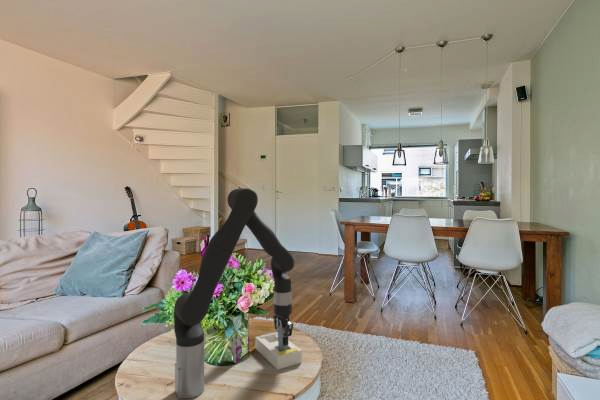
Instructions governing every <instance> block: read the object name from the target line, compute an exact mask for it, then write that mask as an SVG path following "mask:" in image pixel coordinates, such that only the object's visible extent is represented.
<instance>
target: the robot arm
mask: <svg viewBox="0 0 600 400" xmlns="http://www.w3.org/2000/svg"><path fill="white" fill-rule="evenodd" d="M226 200H227V204H228V207H229V208H230V209H231V210H230V213H229V215H228V217H227V218H226V220H225V222H224V223H223V224H222V225H221V226H220V227H219V228H218V230H216V232H215V233H214V235H213V236H212V237H211V239H210V241H209V242H208V244H207V246H206V248H205V250H204V252H203V254H202V256H201V260H200V261H201V262H200V266H199V272H198V276H197V280H196V282H195V285H194V286H193V289H191V292H187V293H186V292H185V293H183V294H181V295H180V296H179V297H178V298H177V299H176V301H175V304H174V308H173V322H174V323H173V327H174V335H175V339H176V340H175V345H176V346H175V347H176V350H175V353H176V355H175V361H176V362H175V363H174V392H175V395H176V397H177V399H178V400H180V399H191V398H196V397H199V396H200V395H202V394H203V393H204V391H205V331H204V328H203V325H202V321H203V320H204V319H205V317H206V316H207V313H208V311H209V308H210V305H211V303H212V300H213V296H214V293H215V291H216V289H217V286H218V285H219V283H220V280H221V278H222V276H223V273H224V271H225V269H226V267H227V265H228V264H229V261H230V259H231V257H232V255H233V253H234V250H235V249H236V246H237V243H238V241H239V240H240V238H241V236H242V234H243V233H242V232H243V230H244V229H245V227H246V228H248V229H249V230H250V233H252V234H253V236H254V237H255V239H256V240H257V241H258V243H259V245H260V246H261V247H262V249H263V251H264V252H265V253H266V254H267V255H269V256H270V257H271V260H270V269H271V272H272V273H271V274H272V278H273V281H274V282H273V283H274V284H273V290H274V291H273V315H272V316H273V323H274V324H273V325H274V329H275V330H276V332H278V325H280V326H281V331H282V333H283V346H287V345H288V340H289V337H291V336H292V335H293V329H294V323H293V322H290V319H291V318H290V315H291V314H292V313H293V294H292V280H291V277H290V276H289V275H288V274H287V272H291V271H292V270H293V268H294V266H295V260H294V257H293V256H292V254H291V253H290V251H288V249H287V248H285V247H284V245H283V244H282V243H281V242H280V240H279V238H278V237H277V236H276V234H275V232H274V231H273V230H272V228H271V227H270V226H268V224H267V223H266V222H265V221H263V219H262V218H260V216H259V215H258V213H256V211H255V210H256V208H257V207H258V202H259V198H258V194H257V192H256V191H255V190H254V189H252V188H244V187H243V188H235V189H233V190H231V191H230V192H229V193H228V195H227V199H226ZM284 327H286V328H285V329H283V328H284Z"/></svg>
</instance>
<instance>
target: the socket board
mask: <svg viewBox="0 0 600 400" xmlns="http://www.w3.org/2000/svg"><path fill="white" fill-rule="evenodd" d="M254 343H255V347H254V348H255V349H256V350H257V351H258V352H259V354H260V355H262V356H263V357H264V358H265V359H266V360H267V361H268V362H269V363H270V364H271V365H272V367H274V369H276V370H277V371H278V370H281V369H285V368H288V367H292V366H295V365H299V364H301V363H302V362H303V359H302V358H303V357H302V356H303V353H302V352H303V351H302V349H301V348H300V347H298V346H296V344H294V343H293V342H291V341H290V340H289V339H288V350H285V351H281V352H280V351H279V350H278V332H277V331H276V332H270V333H265V334H262V335H258V336H255V342H254Z"/></svg>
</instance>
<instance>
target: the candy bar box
mask: <svg viewBox="0 0 600 400" xmlns="http://www.w3.org/2000/svg"><path fill="white" fill-rule="evenodd" d="M247 320H248V350H249V351H250V322H249V321H250V316H249V314H247ZM232 349H233V350H232V351H233V358H234V363H233V364H238V363H239V362H240V361H241V360H240V357H241V353H242V347H241V341H240V339H239V336H237V335H235V336H234V337H233V341H232Z"/></svg>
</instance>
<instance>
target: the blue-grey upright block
mask: <svg viewBox="0 0 600 400" xmlns="http://www.w3.org/2000/svg"><path fill="white" fill-rule="evenodd" d="M285 328H286V327H284V328H283V329H285ZM278 350H279V351H280V352H281V351H285V350H288V345H287V346H283V333H282V331H281V326H280V325H278Z"/></svg>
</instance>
